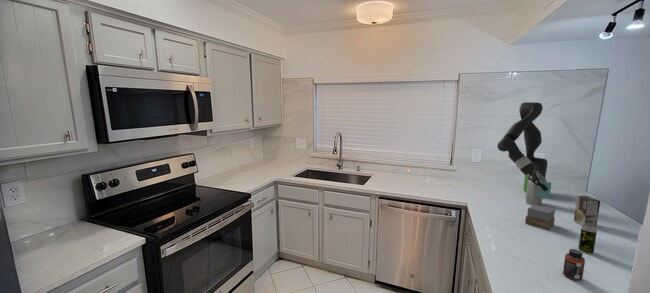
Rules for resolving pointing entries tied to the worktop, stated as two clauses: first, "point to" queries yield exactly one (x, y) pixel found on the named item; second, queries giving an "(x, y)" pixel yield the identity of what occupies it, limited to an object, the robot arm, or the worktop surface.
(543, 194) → the teal block
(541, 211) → the tower top
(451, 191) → the worktop surface
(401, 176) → the worktop surface
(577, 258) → the supplement bottle
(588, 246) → the beer can
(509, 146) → the robot arm
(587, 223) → the coffee box
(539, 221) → the tower bottom
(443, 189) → the worktop surface
